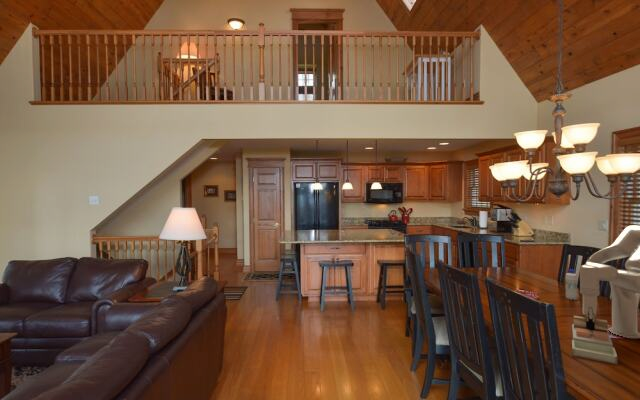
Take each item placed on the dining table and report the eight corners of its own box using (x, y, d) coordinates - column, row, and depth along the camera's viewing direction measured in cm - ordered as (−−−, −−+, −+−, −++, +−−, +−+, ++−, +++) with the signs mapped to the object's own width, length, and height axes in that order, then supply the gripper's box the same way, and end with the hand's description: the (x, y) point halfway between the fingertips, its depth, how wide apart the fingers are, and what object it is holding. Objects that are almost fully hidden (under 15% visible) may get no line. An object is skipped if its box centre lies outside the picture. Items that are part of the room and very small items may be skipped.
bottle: (565, 297, 237) (565, 267, 237) (578, 299, 233) (577, 268, 233) (564, 299, 232) (564, 269, 232) (577, 301, 228) (577, 270, 228)
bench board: (572, 332, 179) (572, 324, 179) (607, 337, 171) (607, 329, 171) (573, 346, 162) (573, 337, 162) (612, 353, 155) (612, 344, 154)
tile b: (576, 331, 169) (576, 327, 169) (589, 334, 166) (589, 329, 166) (576, 335, 165) (576, 331, 165) (589, 337, 162) (589, 333, 162)
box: (572, 346, 162) (572, 339, 162) (614, 354, 154) (614, 347, 154) (572, 355, 153) (572, 348, 153) (617, 364, 145) (617, 357, 145)
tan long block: (573, 325, 177) (573, 315, 177) (607, 330, 169) (606, 320, 169) (573, 327, 175) (573, 317, 175) (607, 332, 167) (607, 322, 167)
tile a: (592, 334, 165) (592, 330, 165) (606, 336, 163) (606, 332, 163) (593, 338, 161) (593, 333, 161) (607, 340, 159) (607, 336, 158)
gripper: (579, 286, 181) (580, 322, 181) (580, 293, 167) (581, 332, 167) (598, 288, 176) (598, 324, 177) (601, 296, 163) (601, 335, 163)
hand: (590, 328), depth 172 cm, fingers closed on tan long block, 2 cm apart
